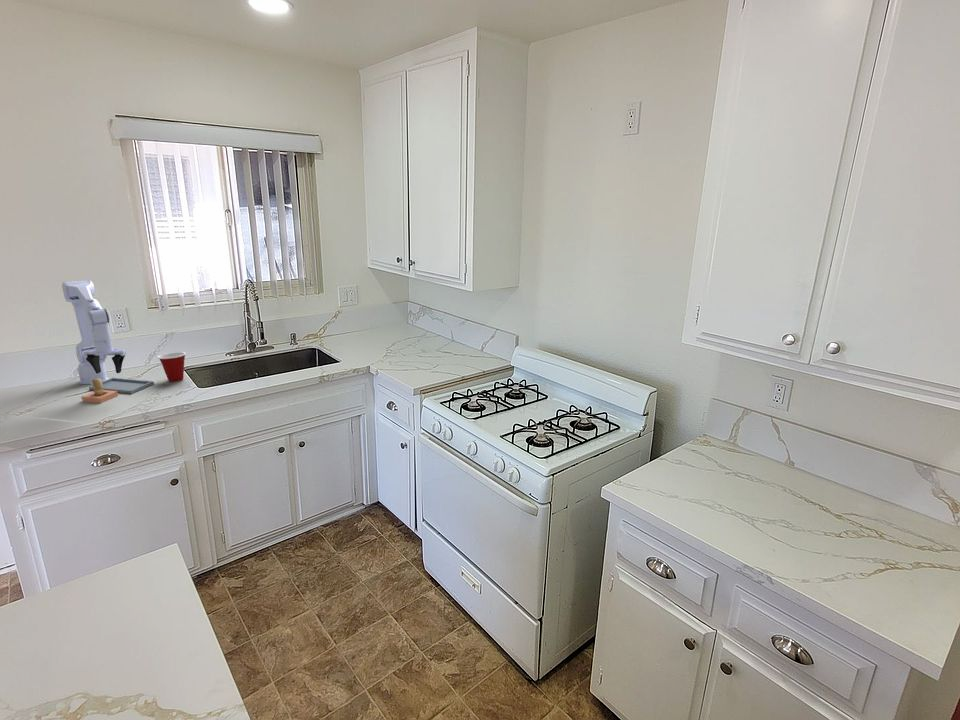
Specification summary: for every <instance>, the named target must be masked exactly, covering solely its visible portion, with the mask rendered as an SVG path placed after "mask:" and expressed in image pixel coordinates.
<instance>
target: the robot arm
mask: <svg viewBox="0 0 960 720" xmlns="http://www.w3.org/2000/svg"><path fill="white" fill-rule="evenodd" d="M61 289H62V292H63V296H64V297H63V298H64V300H65V302H67V303H71V305H72V307H73V310H74V312H75V313H74V314H75V317H76V318H75V319H76V320H77V326H78V329H79V334H80V338H81V341H80V342H79V343H77V344H76V346H75V352H76V353H75V354H76V358H77V360H78V361H77V362H79V364H78V366H77V371H78V376H79V380H80V381H79V382H78V384H82V385H93V383H92V380H93V379H97V378H100V379H101V380H102V382H103V381H105V380H108V379H110V378H111V377H108V375H107V369H106V366H105V362H106V360H107V358H108V356H112V357H111V359H112V360H111V361H112V362H113V365H114V368H115V372H116V374H120V373H122V366H123V361H124V359H125V357H126V355H127V353H126V349H117V348H114V347H113V342H112V338H111V332H110V331H111V330H110V327H109V326H110V325H109V324H110V316H109V312H108V310H107V309H106V308H104V307H102V305H101V304H100V302H99V301H98V300H97V299H95V298H94V295H95V285H94V283H93V281H91V280H90V279H87V280H75V281H63V282H62V284H61Z"/></svg>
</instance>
